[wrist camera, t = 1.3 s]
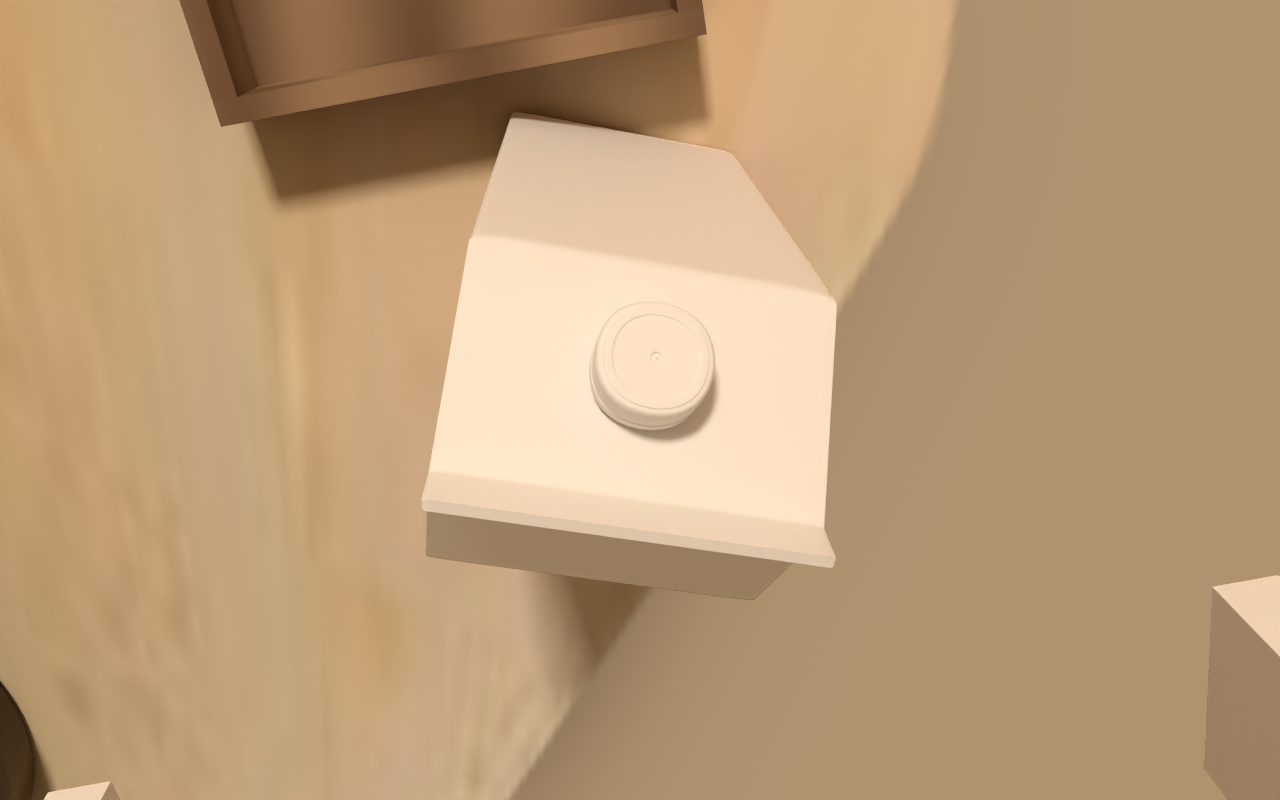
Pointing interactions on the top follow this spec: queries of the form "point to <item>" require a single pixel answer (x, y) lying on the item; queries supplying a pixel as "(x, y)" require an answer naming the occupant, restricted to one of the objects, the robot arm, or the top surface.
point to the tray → (403, 44)
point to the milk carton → (633, 372)
